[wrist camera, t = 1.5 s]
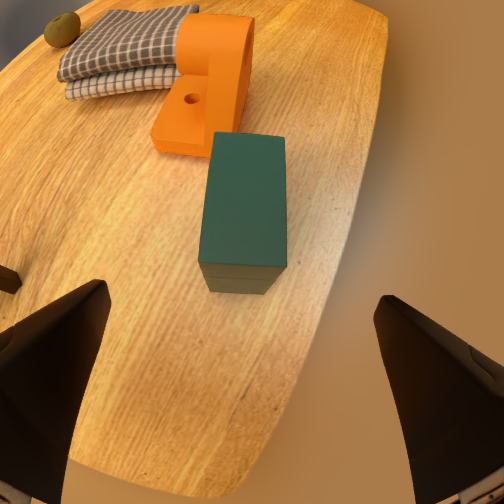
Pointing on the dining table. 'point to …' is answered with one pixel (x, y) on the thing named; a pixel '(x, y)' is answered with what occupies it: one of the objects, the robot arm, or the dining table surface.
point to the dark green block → (244, 214)
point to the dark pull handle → (9, 280)
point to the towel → (124, 53)
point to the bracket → (206, 83)
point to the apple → (62, 29)
